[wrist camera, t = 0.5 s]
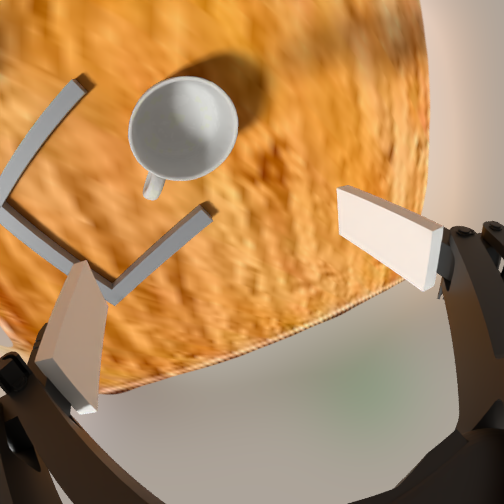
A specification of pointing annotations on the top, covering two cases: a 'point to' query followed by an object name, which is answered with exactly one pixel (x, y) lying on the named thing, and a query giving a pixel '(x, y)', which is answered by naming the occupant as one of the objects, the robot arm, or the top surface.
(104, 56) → the top surface
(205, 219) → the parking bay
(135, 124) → the teacup
